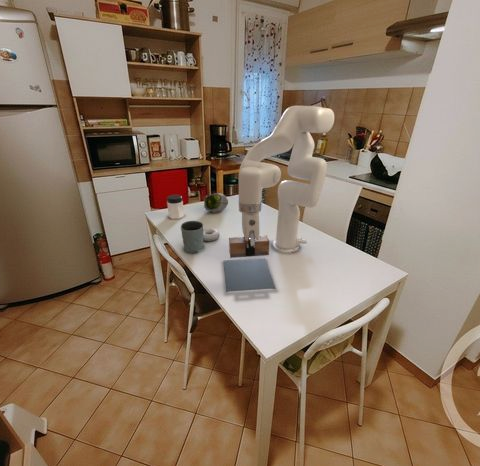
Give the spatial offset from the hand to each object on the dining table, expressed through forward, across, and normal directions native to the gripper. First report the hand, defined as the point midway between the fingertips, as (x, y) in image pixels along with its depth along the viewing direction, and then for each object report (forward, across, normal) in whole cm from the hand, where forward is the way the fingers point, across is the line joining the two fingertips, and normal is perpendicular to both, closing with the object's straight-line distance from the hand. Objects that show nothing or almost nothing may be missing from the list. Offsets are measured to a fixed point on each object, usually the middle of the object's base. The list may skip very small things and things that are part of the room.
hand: (249, 251), depth 95 cm
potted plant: (+14, +69, +10) cm, 71 cm away
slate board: (+13, +3, 0) cm, 13 cm away
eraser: (+1, 0, 0) cm, 1 cm away
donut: (+13, +36, +14) cm, 41 cm away
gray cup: (+13, +26, +22) cm, 36 cm away
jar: (+14, +64, +33) cm, 73 cm away
